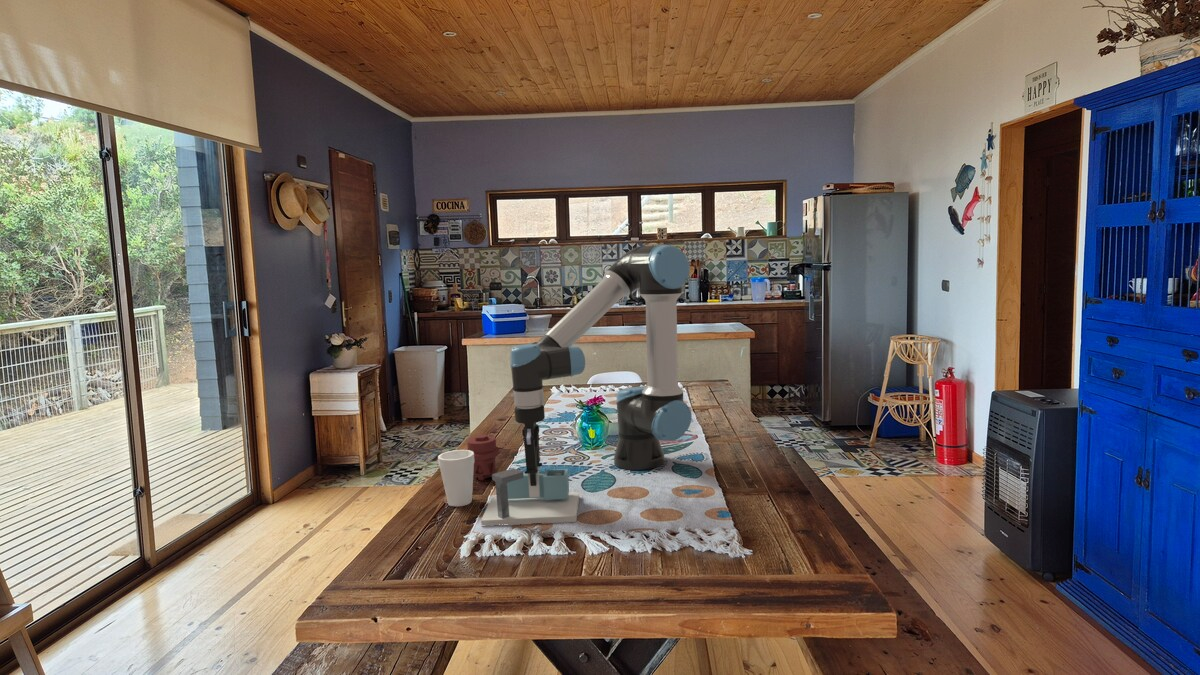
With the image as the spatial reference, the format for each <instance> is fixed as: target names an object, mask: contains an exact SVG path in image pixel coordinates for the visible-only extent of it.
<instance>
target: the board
mask: <svg viewBox="0 0 1200 675" xmlns="http://www.w3.org/2000/svg"><path fill="white" fill-rule="evenodd" d="M557 475H562V473H554V474H553V476H557ZM508 503H509V516H510V517H507V518H504V519H502V518H500V517H498V508H497V496H496V495H493V496H491V498H490V501H489V503H488V505H487V507H486V509H485V511H484V513H483V516H482V517H481V520H480V525H499V524H500V525H501V526H505V525H504V524H508V525H507V526H517V525H520V524H521V525H532V524H531V523H542V524H556V523H557V524H559V523H560V524H561V523H576V522H577V519H578V518H577V517H578V513H579V512H578V510H579V504H580V491H569V495H568V499H553V500H544V498H522V499H508ZM502 524H503V525H502Z"/></svg>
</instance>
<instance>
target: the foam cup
mask: <svg viewBox="0 0 1200 675" xmlns="http://www.w3.org/2000/svg"><path fill="white" fill-rule="evenodd" d="M437 459H438V460H437V461H438V467H439V470H440V475H441V479H442V482H443V488H444V491H445V497H446V502H447V505H448V506H450V507H463V506H467V505H469V504H471V503H472V501H473V500H472V499H473V485H474V474H473V470H474V462H475V461H474V452H473V451H470V450H467V449H455V450H454V449H453V450H449V451H445V452H442V453H440V454H439V455H437Z"/></svg>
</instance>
